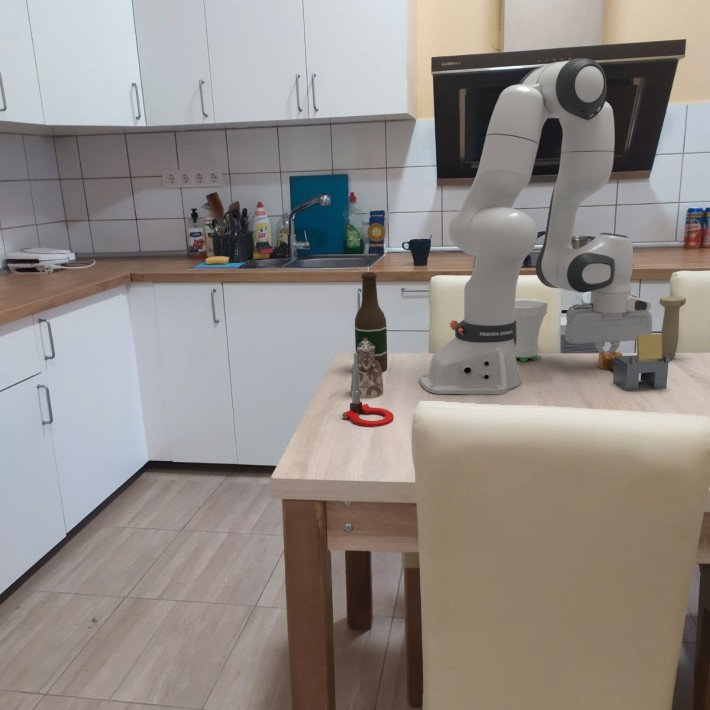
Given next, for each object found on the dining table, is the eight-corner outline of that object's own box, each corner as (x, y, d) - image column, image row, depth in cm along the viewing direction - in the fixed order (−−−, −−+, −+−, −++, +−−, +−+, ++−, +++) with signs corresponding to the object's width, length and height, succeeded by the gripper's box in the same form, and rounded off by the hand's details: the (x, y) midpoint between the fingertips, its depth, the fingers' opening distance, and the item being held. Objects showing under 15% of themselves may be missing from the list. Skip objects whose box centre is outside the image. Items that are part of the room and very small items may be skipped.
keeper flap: (636, 335, 140) (634, 335, 141) (636, 363, 141) (634, 362, 141) (664, 333, 141) (662, 333, 141) (664, 361, 141) (662, 361, 142)
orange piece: (621, 381, 149) (622, 366, 148) (598, 366, 161) (599, 353, 160) (642, 380, 150) (643, 365, 149) (617, 365, 161) (618, 351, 160)
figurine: (348, 398, 145) (346, 344, 142) (353, 388, 152) (351, 336, 149) (381, 398, 144) (380, 344, 141) (384, 388, 151) (383, 336, 148)
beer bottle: (385, 374, 161) (383, 275, 155) (353, 374, 162) (350, 275, 156) (389, 365, 168) (387, 270, 162) (358, 365, 170) (355, 270, 164)
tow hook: (402, 420, 132) (367, 408, 138) (403, 357, 129) (367, 348, 135) (374, 432, 126) (338, 420, 132) (374, 367, 123) (337, 357, 129)
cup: (501, 363, 167) (502, 307, 163) (498, 352, 177) (499, 299, 174) (548, 363, 165) (550, 307, 161) (542, 352, 176) (544, 298, 172)
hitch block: (628, 392, 142) (630, 358, 140) (612, 382, 149) (615, 350, 147) (669, 389, 143) (672, 356, 141) (652, 380, 150) (654, 348, 148)
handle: (684, 358, 165) (690, 298, 161) (668, 362, 162) (673, 301, 158) (667, 354, 169) (672, 295, 166) (650, 358, 166) (655, 298, 162)
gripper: (572, 307, 154) (569, 365, 157) (658, 302, 156) (653, 360, 159) (561, 302, 160) (559, 358, 164) (644, 298, 162) (639, 353, 165)
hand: (606, 359), depth 161 cm, fingers closed
